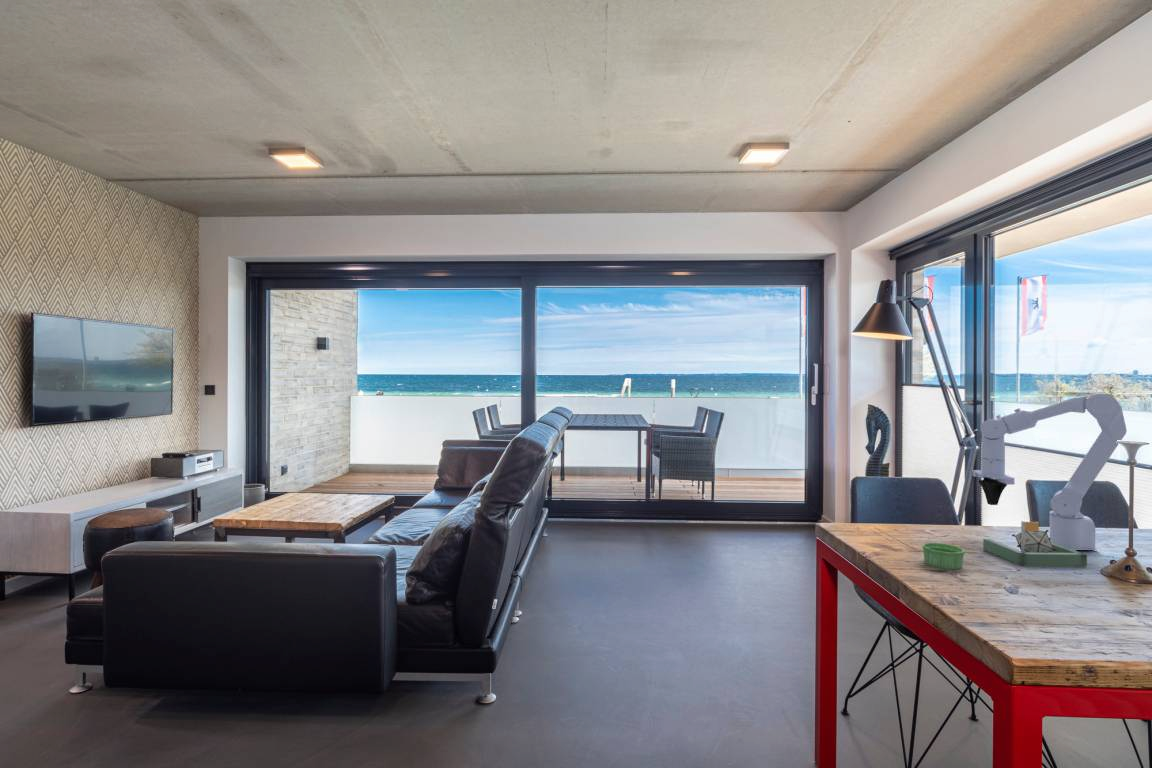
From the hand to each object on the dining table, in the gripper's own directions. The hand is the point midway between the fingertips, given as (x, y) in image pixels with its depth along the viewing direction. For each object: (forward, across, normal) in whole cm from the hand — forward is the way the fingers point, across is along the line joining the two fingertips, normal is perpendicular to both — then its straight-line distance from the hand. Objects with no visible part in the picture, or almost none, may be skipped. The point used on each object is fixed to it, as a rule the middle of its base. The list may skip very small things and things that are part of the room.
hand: (992, 504), depth 172 cm
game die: (+10, +21, -4) cm, 24 cm away
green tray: (+9, +21, -5) cm, 24 cm away
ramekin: (+10, +27, -32) cm, 43 cm away
